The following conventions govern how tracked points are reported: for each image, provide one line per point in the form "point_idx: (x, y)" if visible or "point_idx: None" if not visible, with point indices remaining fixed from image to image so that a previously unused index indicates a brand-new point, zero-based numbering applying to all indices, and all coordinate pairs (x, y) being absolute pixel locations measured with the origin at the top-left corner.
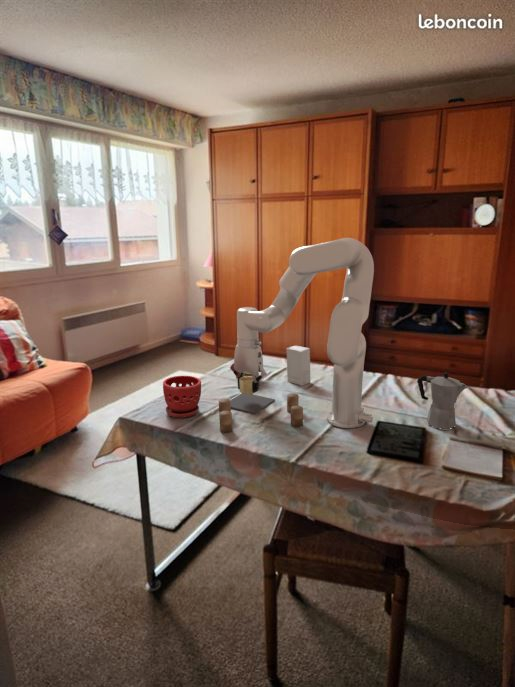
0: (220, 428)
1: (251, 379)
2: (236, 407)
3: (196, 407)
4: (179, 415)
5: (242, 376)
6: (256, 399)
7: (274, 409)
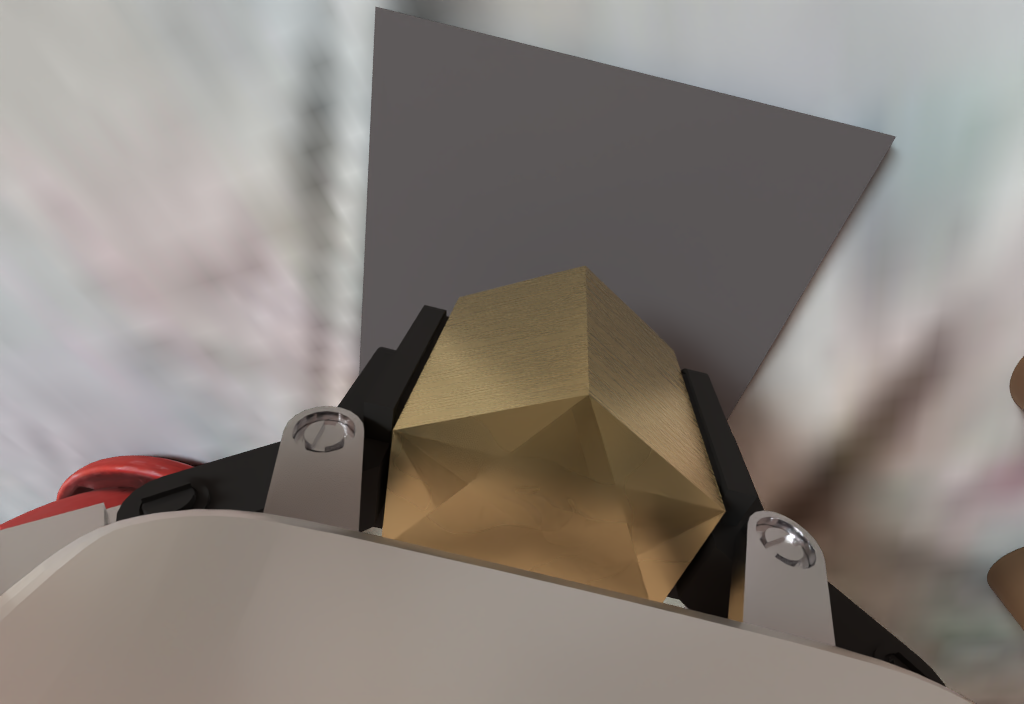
0: None
1: (619, 560)
2: None
3: None
4: None
5: (380, 466)
6: (632, 215)
7: (863, 369)
